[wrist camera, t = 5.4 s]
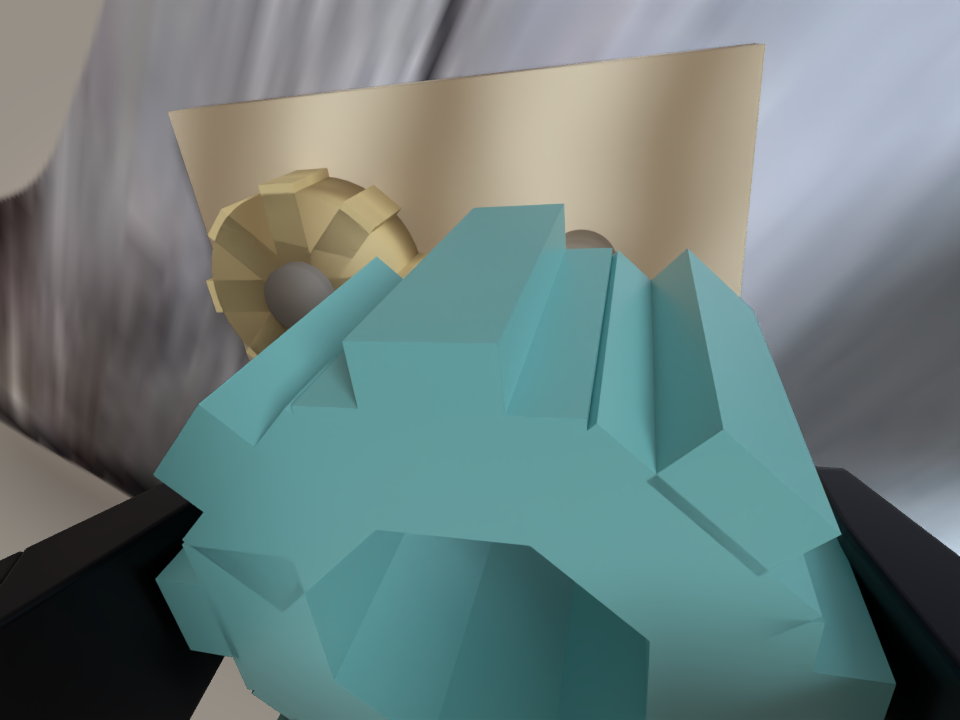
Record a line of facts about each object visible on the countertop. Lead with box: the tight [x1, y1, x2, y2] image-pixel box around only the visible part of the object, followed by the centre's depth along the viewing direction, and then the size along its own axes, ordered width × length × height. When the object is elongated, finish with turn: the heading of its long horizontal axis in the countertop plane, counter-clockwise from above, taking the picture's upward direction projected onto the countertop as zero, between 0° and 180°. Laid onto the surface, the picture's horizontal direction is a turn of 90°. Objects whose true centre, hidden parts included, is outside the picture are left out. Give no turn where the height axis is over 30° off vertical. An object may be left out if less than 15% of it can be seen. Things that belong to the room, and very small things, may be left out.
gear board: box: [168, 43, 765, 362], centre depth 16 cm, size 16×10×6 cm, turn 97°
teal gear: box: [153, 204, 896, 720], centre depth 8 cm, size 7×7×4 cm
